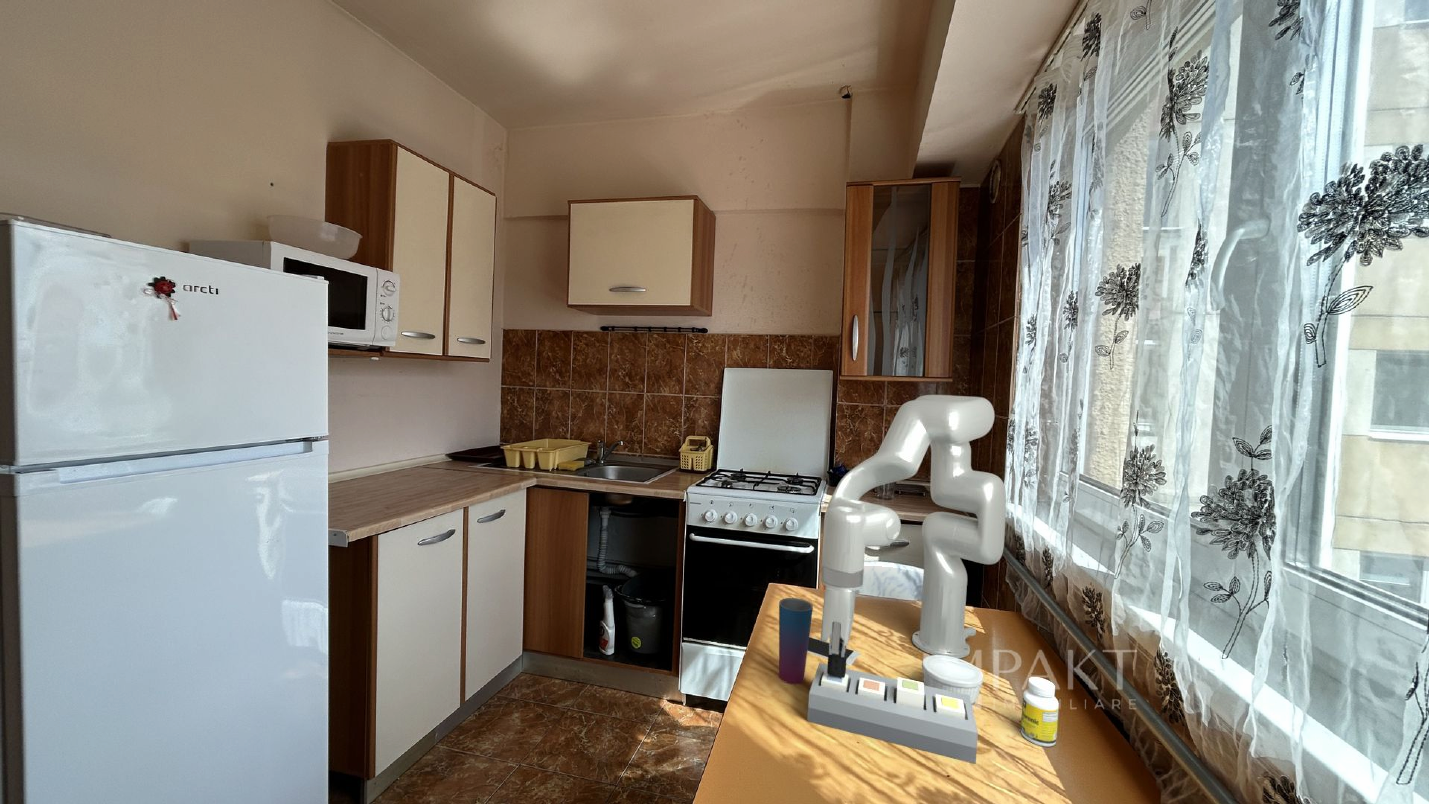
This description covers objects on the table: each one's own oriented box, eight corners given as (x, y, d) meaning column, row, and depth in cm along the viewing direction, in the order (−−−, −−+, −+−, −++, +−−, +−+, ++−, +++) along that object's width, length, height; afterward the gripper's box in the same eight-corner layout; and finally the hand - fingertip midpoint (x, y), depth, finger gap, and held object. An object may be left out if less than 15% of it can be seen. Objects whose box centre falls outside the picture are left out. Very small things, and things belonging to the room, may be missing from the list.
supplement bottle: (1013, 728, 99) (1017, 674, 99) (1042, 728, 99) (1045, 674, 99) (1033, 748, 93) (1037, 690, 93) (1063, 748, 94) (1067, 691, 94)
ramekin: (978, 686, 113) (979, 661, 113) (985, 716, 102) (987, 688, 102) (919, 674, 117) (921, 650, 116) (921, 701, 106) (923, 674, 106)
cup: (807, 688, 108) (812, 612, 108) (773, 683, 109) (777, 608, 109) (808, 671, 115) (813, 600, 114) (776, 666, 116) (780, 596, 116)
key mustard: (935, 724, 94) (937, 705, 94) (934, 710, 98) (935, 692, 98) (963, 731, 92) (965, 712, 92) (961, 716, 97) (962, 698, 96)
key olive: (896, 706, 96) (897, 687, 96) (896, 693, 100) (897, 676, 100) (923, 712, 94) (924, 693, 94) (922, 699, 99) (923, 681, 99)
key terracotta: (857, 705, 98) (858, 688, 98) (859, 693, 102) (860, 676, 102) (883, 711, 97) (884, 693, 97) (883, 699, 101) (885, 681, 101)
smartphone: (850, 665, 118) (786, 644, 126) (849, 668, 118) (785, 647, 126) (861, 652, 125) (799, 633, 133) (860, 655, 125) (799, 635, 133)
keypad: (807, 721, 97) (809, 693, 97) (817, 688, 109) (819, 662, 108) (975, 763, 88) (977, 732, 88) (967, 722, 100) (969, 695, 100)
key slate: (820, 697, 100) (821, 679, 100) (823, 685, 104) (824, 668, 104) (845, 702, 99) (846, 685, 99) (847, 690, 103) (848, 673, 103)
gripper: (826, 561, 110) (821, 652, 110) (815, 585, 95) (809, 690, 96) (865, 567, 107) (860, 660, 108) (859, 592, 93) (853, 700, 93)
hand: (836, 674), depth 102 cm, fingers closed
